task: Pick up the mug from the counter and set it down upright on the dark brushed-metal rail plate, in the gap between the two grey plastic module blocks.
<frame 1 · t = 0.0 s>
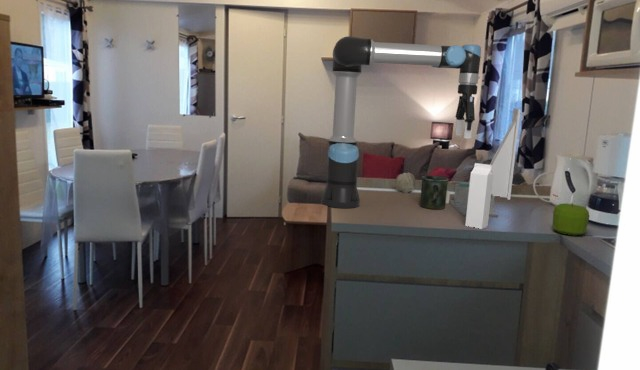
hand: (462, 136, 217), 28 cm above the countertop, fingers open, 13 cm apart
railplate: (472, 209, 212), on the countertop
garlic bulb: (403, 192, 242), on the countertop
loose relay: (441, 202, 223), on the countertop
mug: (432, 208, 211), on the countertop
milk: (476, 226, 185), on the countertop
white slanted panel: (491, 194, 248), on the countertop
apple: (568, 234, 182), on the countertop
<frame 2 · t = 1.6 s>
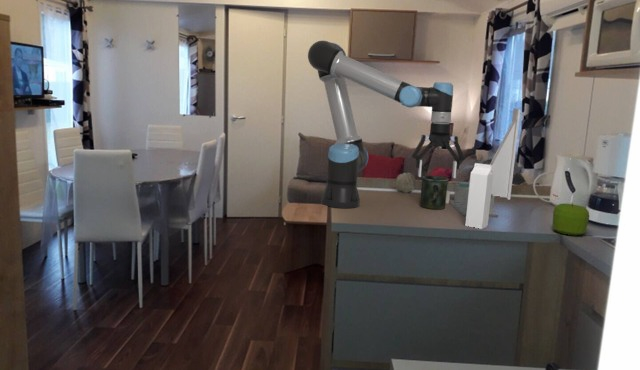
hand: (436, 177, 209), 13 cm above the countertop, fingers open, 13 cm apart
nothing on the countertop moved.
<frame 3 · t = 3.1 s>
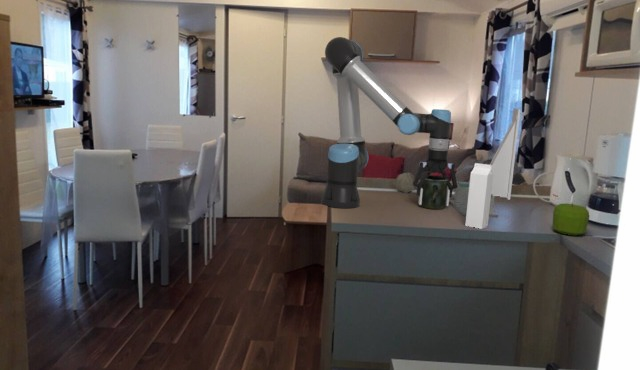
hand: (433, 204, 211), 1 cm above the countertop, fingers closed on mug, 10 cm apart
mug: (432, 208, 211), on the countertop, touching gripper
everything else where it was.
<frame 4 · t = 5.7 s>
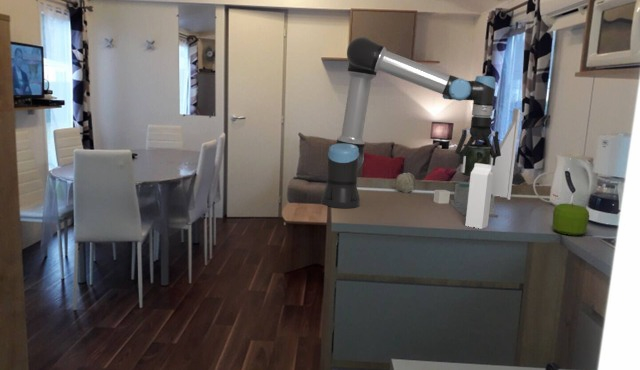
hand: (475, 173, 209), 15 cm above the countertop, fingers closed on mug, 10 cm apart
mug: (475, 176, 210), point 13 cm above the countertop, touching gripper
everything else where it was.
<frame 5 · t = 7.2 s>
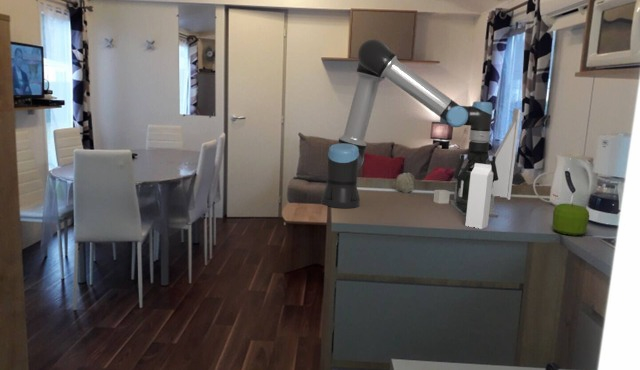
hand: (473, 196, 211), 5 cm above the countertop, fingers closed on mug, 10 cm apart
mug: (472, 200, 211), point 4 cm above the countertop, touching gripper
everything else where it was.
when the fingers open (3 cm above the countertop, at t = 8.6 s): mug stays where it is, resting on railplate.
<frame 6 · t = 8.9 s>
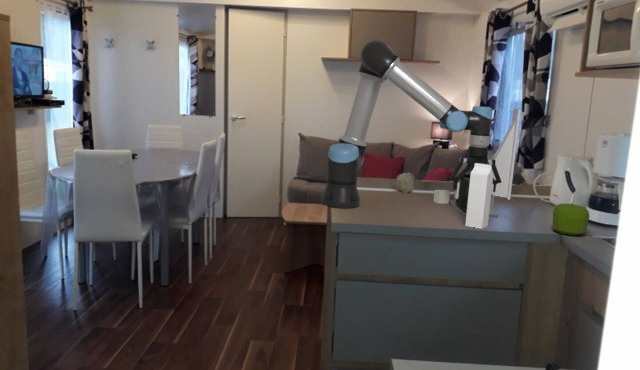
hand: (473, 199, 211), 4 cm above the countertop, fingers open, 13 cm apart
mug: (471, 207, 212), point 1 cm above the countertop, touching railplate
everything else where it was.
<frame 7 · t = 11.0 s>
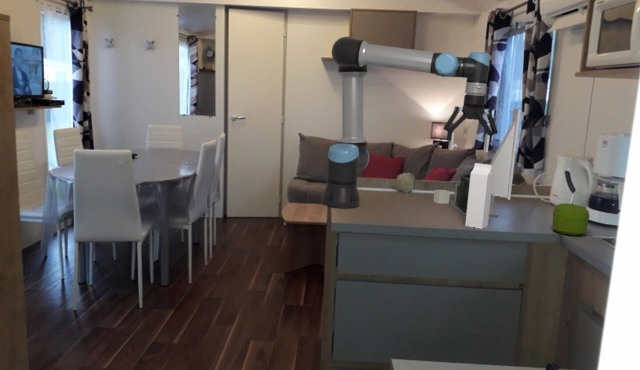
hand: (467, 150, 203), 24 cm above the countertop, fingers open, 13 cm apart
nothing on the countertop moved.
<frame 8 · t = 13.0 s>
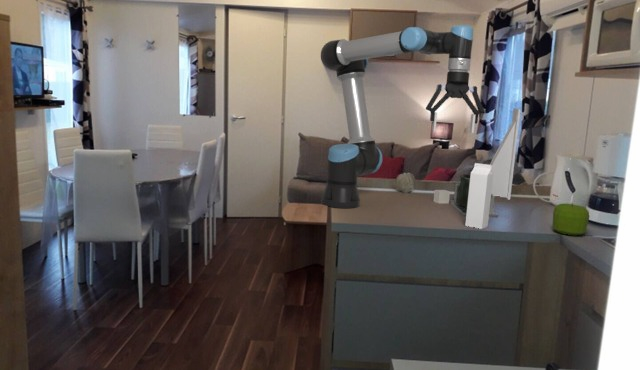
hand: (452, 131, 190), 32 cm above the countertop, fingers open, 13 cm apart
nothing on the countertop moved.
at the end: mug inside the target area on the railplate (0.3 cm from its centre), point 0.8 cm above the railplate's base; mug tilted 0°; the gripper is holding nothing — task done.
